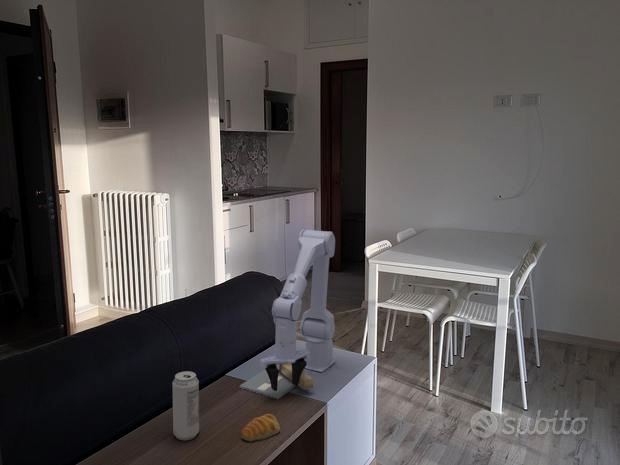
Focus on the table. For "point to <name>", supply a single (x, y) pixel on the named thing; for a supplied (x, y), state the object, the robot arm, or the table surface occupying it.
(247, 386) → the label board
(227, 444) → the table surface
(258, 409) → the table surface
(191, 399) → the energy drink can
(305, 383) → the bar
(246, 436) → the pastry
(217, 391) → the table surface
